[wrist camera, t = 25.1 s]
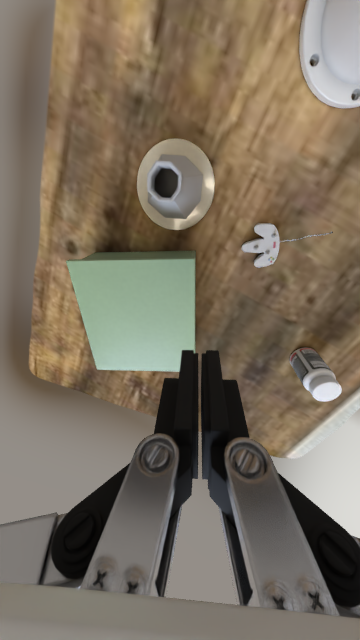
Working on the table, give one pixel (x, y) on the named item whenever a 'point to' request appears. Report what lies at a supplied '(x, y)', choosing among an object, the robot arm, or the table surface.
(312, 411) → the table surface
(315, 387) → the pill bottle
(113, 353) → the box lid
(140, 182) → the coaster
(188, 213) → the flask
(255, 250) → the game controller
